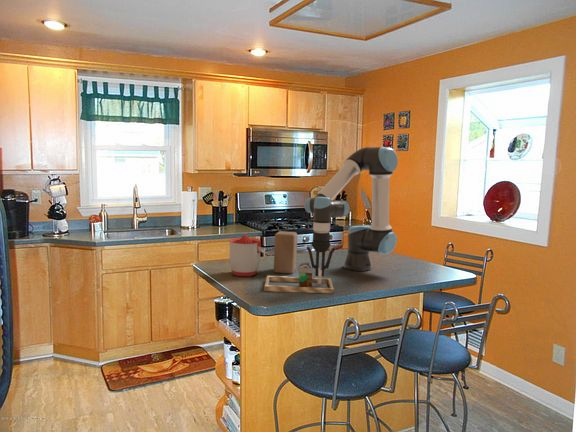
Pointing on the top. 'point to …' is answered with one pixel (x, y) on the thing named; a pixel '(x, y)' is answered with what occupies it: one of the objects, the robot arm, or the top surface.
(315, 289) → the trap channel
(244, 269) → the citrus juicer
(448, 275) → the top surface
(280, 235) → the block
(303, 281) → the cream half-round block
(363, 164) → the robot arm
